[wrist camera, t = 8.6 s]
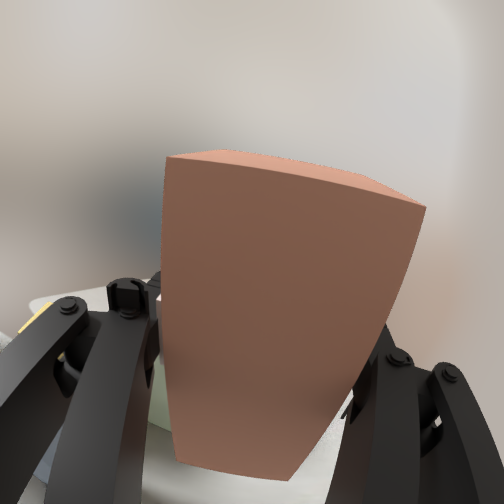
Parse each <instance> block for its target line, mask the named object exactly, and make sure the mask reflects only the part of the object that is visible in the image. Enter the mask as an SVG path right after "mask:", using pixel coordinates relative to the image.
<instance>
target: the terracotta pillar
mask: <svg viewBox="0 0 504 504" xmlns="http://www.w3.org/2000/svg"><path fill="white" fill-rule="evenodd" d="M162 209H163V210H162V231H161V317H162V339H163V355H164V368H165V380H166V390H167V400H168V408H169V416H170V424H171V431H172V438H173V444H174V451H175V457H176V461H178V462H182V463H185V464H189V465H193V466H197V467H201V468H205V469H210V470H214V471H219V472H224V473H229V474H235V475H241V476H247V477H254V478H261V479H270V480H280V481H288V480H289V479H290V478H291V477H292V476H293V474H294V473H295V472H296V471H297V469H298V468H299V467H300V465H301V464H302V463H303V462H304V460H305V459H306V458H307V456H308V455H309V453H310V452H311V451H312V449H313V448H314V447H315V445H316V444H317V442H318V441H319V440H320V438H321V437H322V435H323V434H324V432H325V431H326V429H327V428H328V426H329V425H330V423H331V422H332V420H333V419H334V417H335V416H336V414H337V412H338V411H339V409H340V408H341V406H342V404H343V403H344V401H345V399H346V398H347V396H348V394H349V393H350V391H351V389H352V387H353V386H354V384H355V382H356V380H357V379H358V377H359V375H360V373H361V371H362V369H363V367H364V366H365V364H366V362H367V360H368V358H369V356H370V354H371V352H372V350H373V348H374V346H375V344H376V342H377V340H378V338H379V336H380V334H381V331H382V329H383V327H384V325H385V323H386V320H387V318H388V316H389V314H390V311H391V309H392V306H393V304H394V302H395V299H396V297H397V294H398V292H399V289H400V287H401V284H402V282H403V279H404V276H405V274H406V271H407V268H408V265H409V262H410V260H411V257H412V254H413V251H414V248H415V245H416V242H417V238H418V235H419V232H420V229H421V225H422V222H423V218H424V214H425V211H426V206H424V205H422V204H420V203H418V202H417V201H415V200H413V199H411V198H409V197H407V196H405V195H403V194H401V193H399V192H397V191H395V190H393V189H391V188H389V187H387V186H385V185H383V184H381V183H379V182H377V181H375V180H372V179H370V178H368V177H366V176H364V175H360V174H356V173H352V172H348V171H344V170H339V169H335V168H331V167H326V166H321V165H316V164H312V163H307V162H302V161H296V160H291V159H285V158H280V157H274V156H268V155H262V154H255V153H249V152H242V151H234V150H227V149H221V150H212V151H205V152H196V153H189V154H181V155H175V156H168V157H166V167H165V179H164V192H163V208H162Z"/></svg>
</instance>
